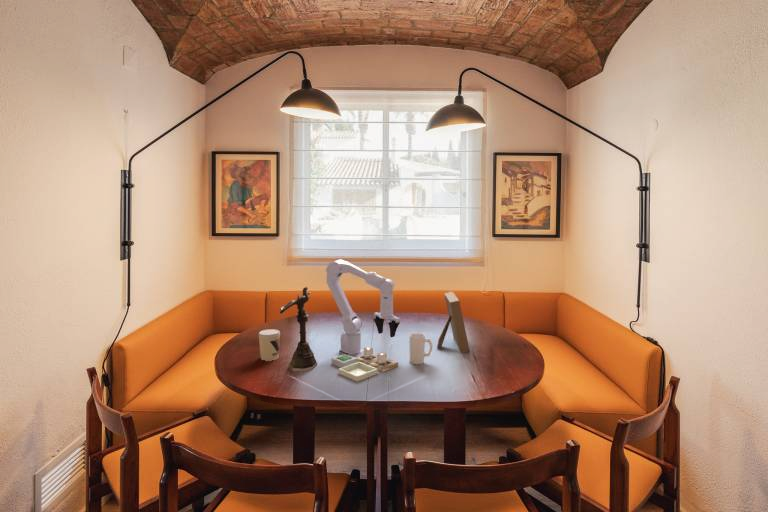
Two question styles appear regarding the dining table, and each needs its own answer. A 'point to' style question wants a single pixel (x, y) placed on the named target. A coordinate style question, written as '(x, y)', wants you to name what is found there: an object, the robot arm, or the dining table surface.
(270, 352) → the coffee cup
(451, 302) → the photo frame
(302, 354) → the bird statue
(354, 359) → the button housing
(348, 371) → the tray
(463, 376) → the dining table surface
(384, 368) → the cream parts tray
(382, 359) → the billet
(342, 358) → the button
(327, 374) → the dining table surface
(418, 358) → the mug
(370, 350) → the billet
